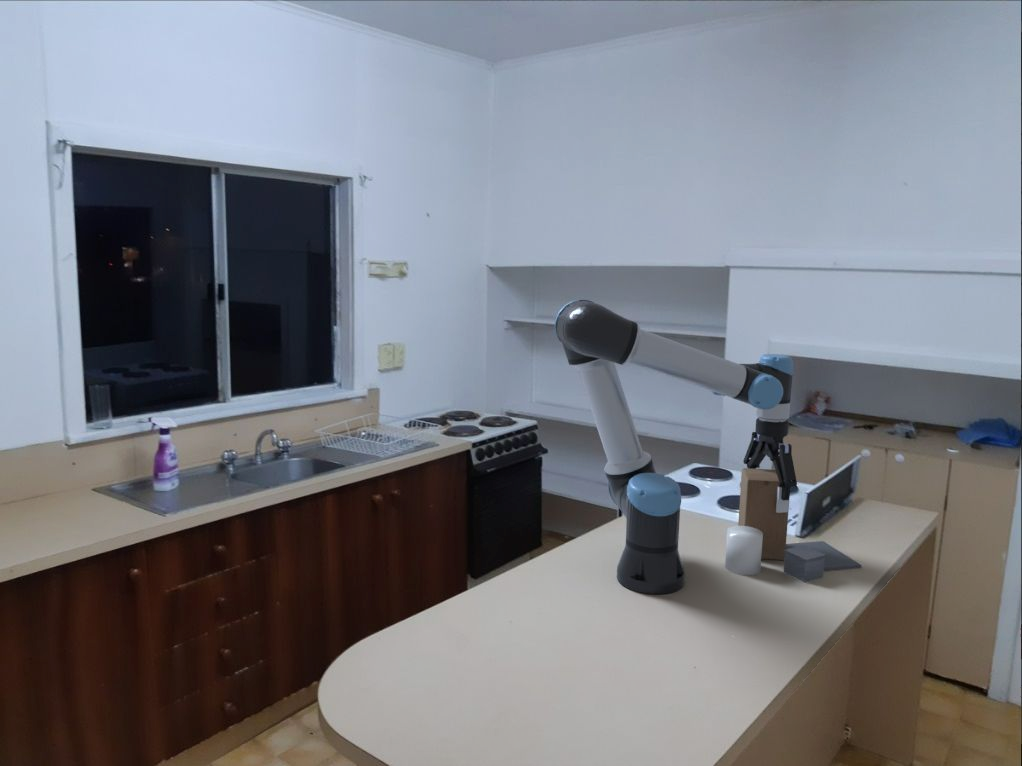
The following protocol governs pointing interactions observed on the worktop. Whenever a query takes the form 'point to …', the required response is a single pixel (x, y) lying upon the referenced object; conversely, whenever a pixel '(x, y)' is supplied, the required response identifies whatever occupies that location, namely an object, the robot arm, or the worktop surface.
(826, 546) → the mat
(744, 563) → the white rounded cylinder
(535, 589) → the worktop surface
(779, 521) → the wooden block
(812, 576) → the tea tin
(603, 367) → the robot arm
